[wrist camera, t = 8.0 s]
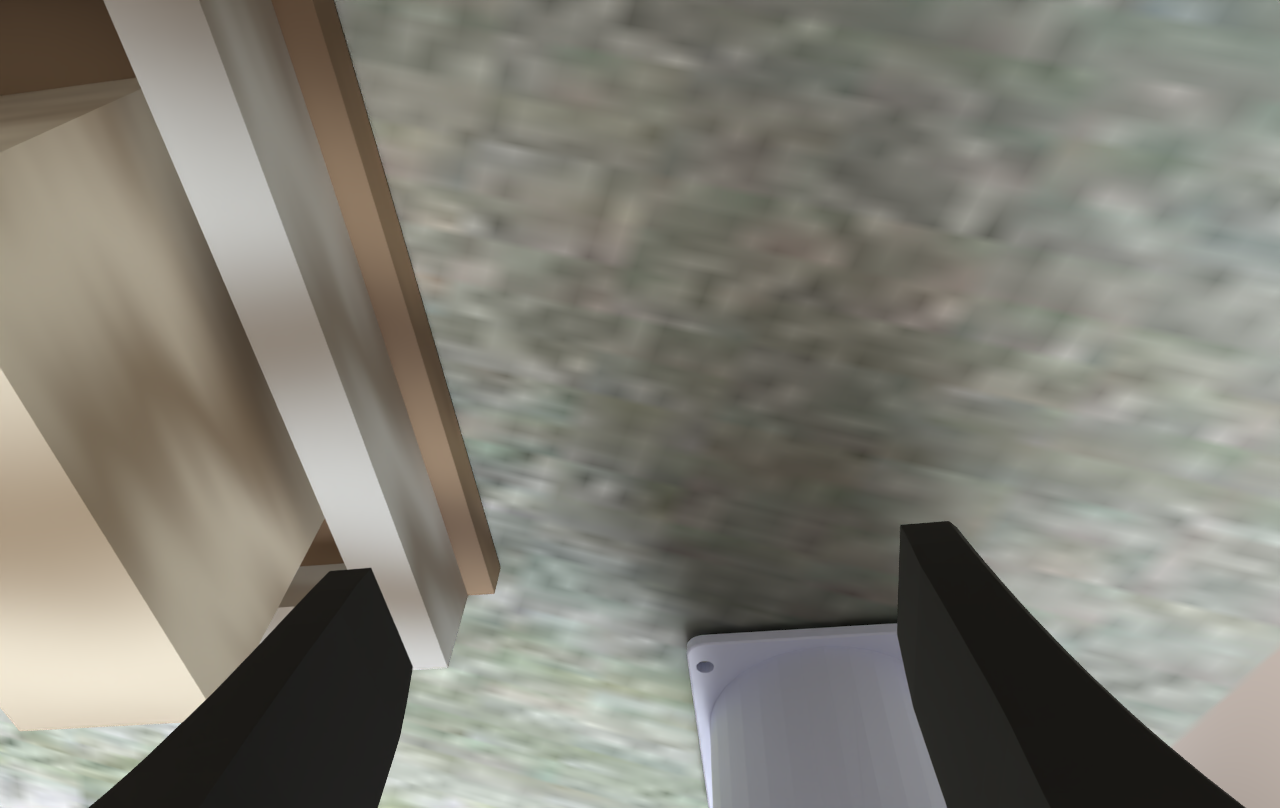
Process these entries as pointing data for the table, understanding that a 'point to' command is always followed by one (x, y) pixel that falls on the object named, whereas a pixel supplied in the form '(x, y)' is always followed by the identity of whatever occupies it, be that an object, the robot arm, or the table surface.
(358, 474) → the track board
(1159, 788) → the robot arm
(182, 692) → the door panel
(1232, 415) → the table surface
